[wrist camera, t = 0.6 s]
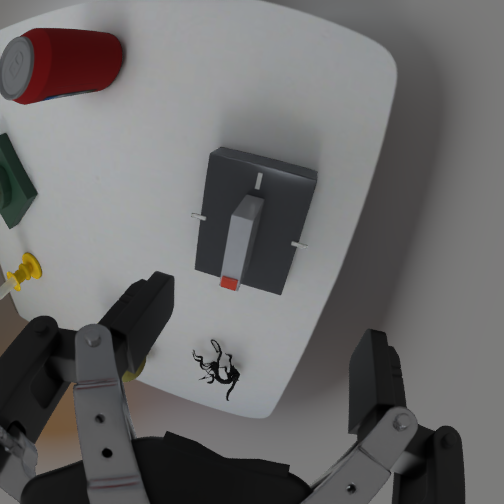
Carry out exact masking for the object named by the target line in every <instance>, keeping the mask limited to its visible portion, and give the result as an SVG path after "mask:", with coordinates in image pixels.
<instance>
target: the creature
mask: <svg viewBox="0 0 504 504" xmlns="http://www.w3.org/2000/svg"><path fill="white" fill-rule="evenodd" d="M212 341H215V340H211V343H212ZM215 342H216V341H215ZM216 343H217V342H216ZM212 345H213V343H212ZM217 345H218V347H219V351H217V350H216V348H215V347H214V348H215V350H216V352H217V353H218V352H220V354H219V357H218V359H217V362H212V363H210V365H211V366H210V365H209V366H210V367H209V368H208V369H210V368H211V370H212V371H214V373H215V377H214V374H209V373H208V372H207V371H206V372H207V373H208V374H209V375H211V376H212V378H213V379H212V381H210V382H207V383H209V384H211V383H213V381H214V378H215V379H216V380H217V381H218V382H220V383H222V384H230V383H231V382H232V381H233V384H232V386H231V388H230V389H229V390H228V392H227V396H226V399H227V401H229V400H228V396H229V394H230V392H231V391H232V390H233V388H234V386H235V384H236V382H237V381H238V378H239V376H240V374H239V372H238V371H237V369H236V368H235V367H234V365H233V366H232V364H231V359H232V355H229V354H226V353H225V354H226V355H228V356H229V357H230V358H229V362H230V372H229V373H228V372H227V367H219V360H220V357H221V355H222V351H221V348H220V346H219V344H218V343H217ZM213 346H214V345H213ZM193 351H194V350H193ZM194 354H195V351H194V353H193V357H194ZM195 356H196V355H195ZM196 357H198V358H201V360H198V359H195V358H194V359H195V360H196V361H198V362H200V367H201V368H202V369H203V370H207V369H204V368H203V367H202V365H203V366H205V365H204V364H203V357H202V356H196ZM205 367H208V366H205ZM219 368H225V372H226V373H227V377H228V379H226V380H223V379H221V378H220V376H219V370H218V369H219ZM211 370H210V371H211ZM210 371H209V372H210ZM211 376H210V377H211ZM231 376H232V378H231ZM207 378H209V377H207ZM202 379H205V377H203V378H202ZM199 380H200V379H199Z"/></svg>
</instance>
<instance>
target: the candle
mask: <svg viewBox="0 0 504 504" xmlns="http://www.w3.org/2000/svg"><path fill="white" fill-rule="evenodd" d="M22 260H23V264H20V265H19V270H17V271H16V272H15V273H13V274H12V273H11V272H7V278H8V280H7V281H6V282H5V283H4V284H3V285H2V286H1V287H0V300H1V299H2V298H3V297H4V296H5V295H6V294H7V293H8V292H10V291H11V290H12V289H13V288H14V289H15V290H16V291H20V290H21V288H20V283H21V282H23V281H24V280H25V279H26V280H30V279H31V276H32V277H33V278H35V279H39V278H40V277H41V275H42V271H41V267H40V265H39V263H38V261H37V260H36V258H35V257H34V256H33V255H32V254H30V253H25V254H24V255H23V257H22Z"/></svg>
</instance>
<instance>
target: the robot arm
mask: <svg viewBox="0 0 504 504" xmlns="http://www.w3.org/2000/svg"><path fill="white" fill-rule="evenodd" d="M173 308H174V276H172V275H168V274H165V273H162V272H159V271H155V272H154V273H153V274H152V276H151V277H150V278H149V279H148V280H147V281H146V280H143V279H141V280H139V281H137V282H135V283H133V284H132V285H131V286H130V287H129V288H128V289H127V290H126V291H125V293H124V294H123V295H122V296H121V297H120V298H119V300H117V302H116V303H115V304H114V305H113V306H112V307H111V309H110V310H109V311H108V312H107V313H106V314H105V316H104V317H103V318H102V319H101V320H100V321H99V323H98V324H89V325H86V326H84V327H82V328H81V329H79V330H78V331H74V330H68V329H62V328H59V327H58V324H57V322H56V320H55V319H54V318H52V317H50V316H39V317H36V318H34V319H33V320H31V321H30V322H29V323H28V325H27V326H26V327H25V328H24V329H23V330H22V331H21V333H20V334H19V335H18V336H17V337H16V339H15V340H14V341H13V342H12V343H11V345H10V346H9V347H8V348H7V350H6V351H5V352H4V353H3V354H2V356H1V357H0V488H2V489H3V490H4V491H5V492H6V493H8V494H9V495H10V496H12V497H13V498H14V499H16V500H17V501H18V502H19V503H20V504H368V503H369V502H370V501H371V499H372V498H373V497H374V496H375V495H376V494H377V493H378V491H379V490H380V489H381V488H382V486H383V485H384V484H385V483H386V481H387V480H388V478H389V477H390V475H391V472H390V471H393V472H394V482H393V495H392V504H465V478H464V462H463V450H462V441H461V437H460V435H459V433H458V432H457V431H456V430H455V429H454V428H453V427H451V426H442V427H440V428H439V429H437V430H436V431H433V430H430V429H428V428H425V427H423V426H421V425H419V424H418V422H417V419H416V417H415V415H414V414H413V413H412V412H411V411H410V410H409V409H407V407H406V399H405V391H404V384H403V378H402V372H401V369H400V368H401V365H400V359H399V356H398V354H397V352H396V351H395V349H394V347H392V346H388V342H387V336H386V333H385V332H382V331H377V330H373V329H367V330H366V331H365V333H364V335H363V336H362V338H361V340H360V342H359V343H358V345H357V347H356V348H355V350H354V352H353V354H352V356H351V359H350V364H349V425H348V433H349V434H357V441H356V442H355V443H354V444H353V445H352V447H350V448H349V449H348V450H347V452H346V453H345V454H344V455H343V456H342V457H341V458H340V459H339V460H338V461H337V462H336V463H335V464H334V465H332V467H330V468H329V469H328V470H327V471H326V472H325V473H324V474H323V475H322V476H320V477H319V478H318V479H317V480H316V481H314V482H313V483H312V484H311V485H310V486H309V485H308V484H307V483H306V482H304V481H303V480H302V479H300V478H299V477H297V476H296V475H294V474H292V473H290V472H289V467H290V465H287V464H281V463H276V462H271V461H266V460H262V459H233V458H232V459H231V458H225V457H222V456H221V455H219V454H217V453H215V452H213V451H212V450H210V449H208V448H206V447H205V446H203V445H201V444H200V443H198V442H196V441H193V440H191V439H187V438H185V437H182V436H179V435H176V434H174V433H171V432H168V431H167V432H166V434H165V436H164V437H154V436H150V437H141V438H137V437H136V434H135V430H134V427H133V424H132V420H131V416H130V412H129V408H128V404H127V399H126V395H125V390H124V385H123V380H122V377H123V375H124V373H125V372H126V371H129V372H131V373H133V374H135V373H136V372H137V370H138V368H139V367H140V365H141V363H142V362H143V360H144V359H145V357H146V355H147V354H148V352H149V350H150V349H151V347H152V346H153V344H154V342H155V341H156V339H157V338H158V336H159V335H160V333H161V331H162V330H163V328H164V327H165V325H166V323H167V322H168V320H169V319H170V317H171V315H172V312H173ZM71 382H74V383H77V384H76V385H74V387H73V394H74V405H75V414H76V422H77V429H78V436H79V442H80V448H81V454H82V458H83V460H81V461H78V462H76V463H72V464H70V465H67V466H64V467H61V468H58V469H55V470H52V471H49V472H46V473H43V474H40V475H37V476H36V473H35V466H36V465H37V458H38V453H37V449H36V447H35V445H34V444H35V442H36V441H37V439H38V437H39V435H40V434H41V432H42V430H43V428H44V426H45V425H46V423H47V421H48V420H49V418H50V416H51V414H52V413H53V411H54V409H55V408H56V406H57V404H58V403H59V401H60V399H61V398H62V396H63V395H64V393H65V391H66V390H67V388H68V386H69V385H70V383H71Z"/></svg>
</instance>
